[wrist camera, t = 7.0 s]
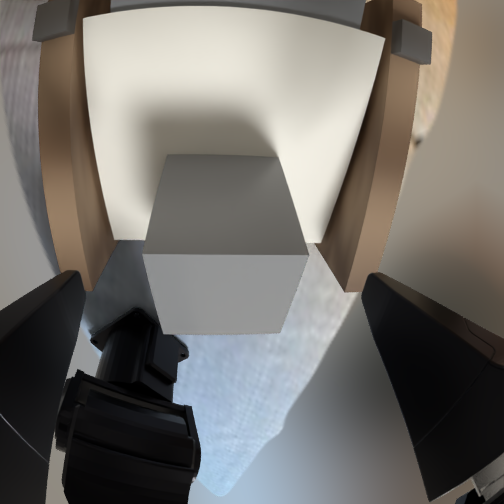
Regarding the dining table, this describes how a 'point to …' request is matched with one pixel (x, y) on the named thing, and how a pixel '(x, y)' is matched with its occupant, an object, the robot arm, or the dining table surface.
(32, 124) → the dining table surface
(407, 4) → the trapdoor frame
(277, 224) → the light gray block
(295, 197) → the trapdoor
